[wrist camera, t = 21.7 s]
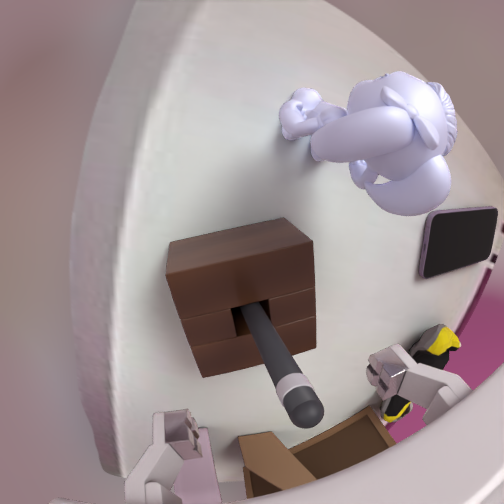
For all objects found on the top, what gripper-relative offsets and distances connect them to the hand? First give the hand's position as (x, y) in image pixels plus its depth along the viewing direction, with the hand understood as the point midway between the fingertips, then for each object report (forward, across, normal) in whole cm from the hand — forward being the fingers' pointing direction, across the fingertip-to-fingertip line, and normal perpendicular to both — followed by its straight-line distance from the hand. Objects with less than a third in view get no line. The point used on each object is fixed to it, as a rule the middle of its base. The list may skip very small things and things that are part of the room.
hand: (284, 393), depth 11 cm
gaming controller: (+11, -21, +20) cm, 31 cm away
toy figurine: (+12, -7, -10) cm, 17 cm away
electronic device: (+11, +10, +23) cm, 27 cm away
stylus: (+11, 0, +1) cm, 11 cm away
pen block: (+11, 0, +1) cm, 11 cm away
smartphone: (+11, -26, +3) cm, 28 cm away
